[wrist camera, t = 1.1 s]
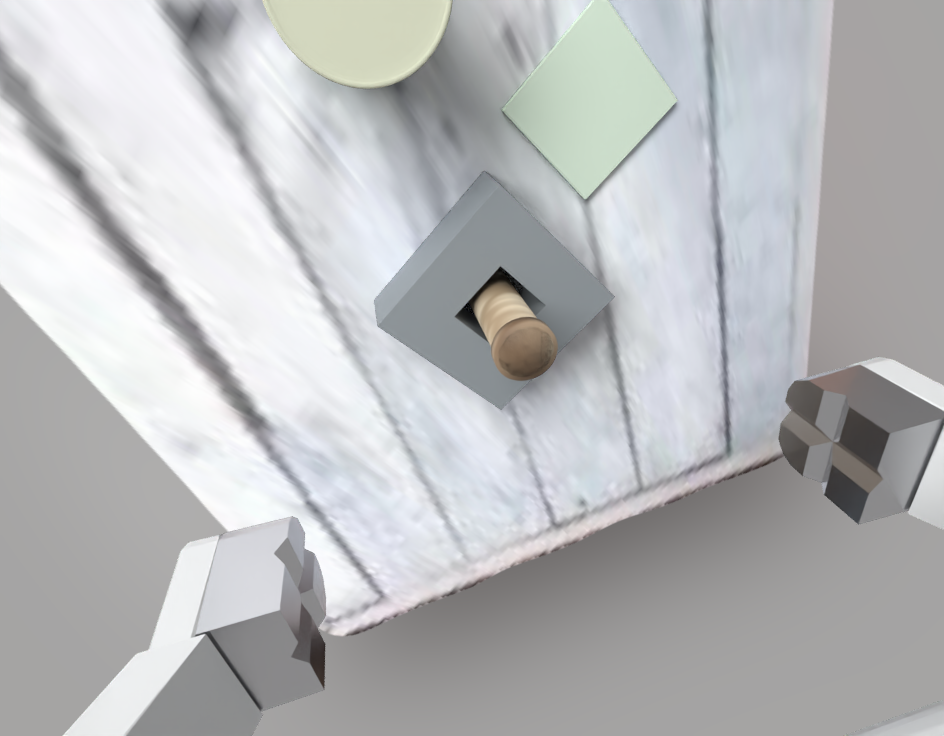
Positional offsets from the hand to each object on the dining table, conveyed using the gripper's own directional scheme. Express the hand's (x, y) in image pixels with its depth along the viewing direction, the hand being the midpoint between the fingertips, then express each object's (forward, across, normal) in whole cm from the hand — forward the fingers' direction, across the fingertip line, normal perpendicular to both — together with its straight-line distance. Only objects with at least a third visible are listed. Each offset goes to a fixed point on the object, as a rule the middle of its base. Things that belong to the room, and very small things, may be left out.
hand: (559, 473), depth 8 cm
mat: (+36, -16, -1) cm, 40 cm away
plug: (+37, -6, +12) cm, 39 cm away
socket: (+37, -6, +12) cm, 39 cm away
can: (+36, 0, -10) cm, 38 cm away
